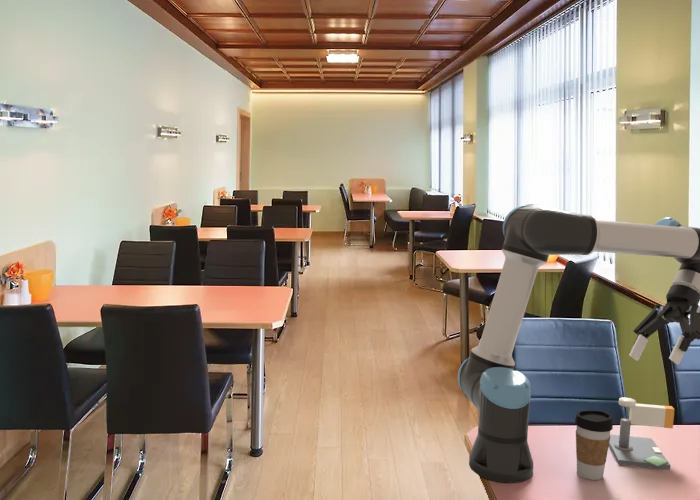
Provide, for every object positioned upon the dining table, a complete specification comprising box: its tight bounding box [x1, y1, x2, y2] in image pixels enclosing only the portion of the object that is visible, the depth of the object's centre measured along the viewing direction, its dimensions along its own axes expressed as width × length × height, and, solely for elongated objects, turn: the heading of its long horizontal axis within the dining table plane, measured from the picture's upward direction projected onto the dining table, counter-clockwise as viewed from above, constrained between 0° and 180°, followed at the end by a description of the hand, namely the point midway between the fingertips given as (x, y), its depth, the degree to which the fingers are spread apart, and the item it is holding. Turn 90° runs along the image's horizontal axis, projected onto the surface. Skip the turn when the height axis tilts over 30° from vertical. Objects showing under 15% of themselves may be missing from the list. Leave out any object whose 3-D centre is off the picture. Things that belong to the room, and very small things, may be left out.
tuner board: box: [608, 433, 671, 471], centre depth 159 cm, size 12×18×2 cm
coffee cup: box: [574, 409, 614, 481], centre depth 147 cm, size 8×8×15 cm
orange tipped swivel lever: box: [618, 396, 675, 448], centre depth 159 cm, size 13×4×12 cm, turn 79°
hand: (652, 359), depth 157 cm, fingers open, 13 cm apart
